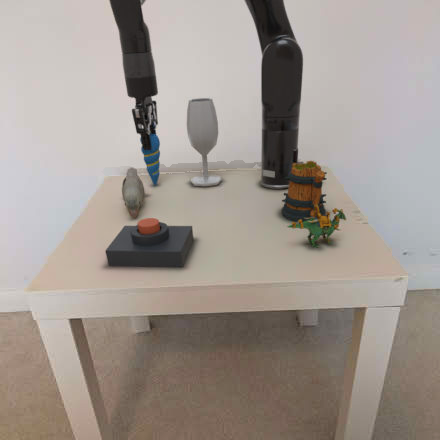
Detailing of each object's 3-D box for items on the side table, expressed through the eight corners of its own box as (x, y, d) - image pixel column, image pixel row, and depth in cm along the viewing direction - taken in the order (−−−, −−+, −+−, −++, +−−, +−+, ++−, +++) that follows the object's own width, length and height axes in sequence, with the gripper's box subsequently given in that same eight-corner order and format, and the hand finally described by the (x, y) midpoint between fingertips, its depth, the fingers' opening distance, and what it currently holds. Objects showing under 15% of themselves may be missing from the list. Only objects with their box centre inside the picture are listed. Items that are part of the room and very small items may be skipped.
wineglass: (221, 186, 107) (217, 101, 96) (189, 188, 108) (181, 103, 96) (222, 176, 115) (218, 96, 103) (191, 178, 115) (184, 98, 103)
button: (162, 226, 76) (161, 217, 75) (157, 235, 73) (155, 226, 72) (142, 226, 76) (140, 217, 75) (136, 235, 73) (134, 226, 72)
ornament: (144, 184, 112) (135, 128, 104) (161, 180, 114) (154, 125, 106) (149, 189, 108) (140, 131, 100) (167, 185, 110) (160, 128, 102)
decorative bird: (122, 220, 91) (116, 188, 87) (126, 196, 105) (120, 167, 101) (146, 217, 92) (141, 185, 88) (146, 194, 105) (142, 165, 101)
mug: (274, 208, 93) (275, 157, 86) (315, 202, 94) (319, 152, 88) (294, 230, 82) (297, 175, 75) (340, 224, 83) (347, 169, 77)
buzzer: (193, 240, 81) (191, 217, 78) (182, 267, 72) (179, 242, 69) (127, 239, 83) (122, 217, 80) (108, 266, 73) (102, 241, 71)
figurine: (347, 243, 76) (352, 202, 72) (288, 253, 74) (290, 212, 69) (339, 236, 79) (344, 196, 74) (282, 246, 76) (284, 205, 72)
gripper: (146, 76, 90) (157, 153, 99) (162, 70, 102) (170, 140, 111) (115, 78, 91) (128, 154, 100) (134, 72, 103) (144, 140, 112)
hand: (150, 146), depth 106 cm, fingers closed on ornament, 5 cm apart
